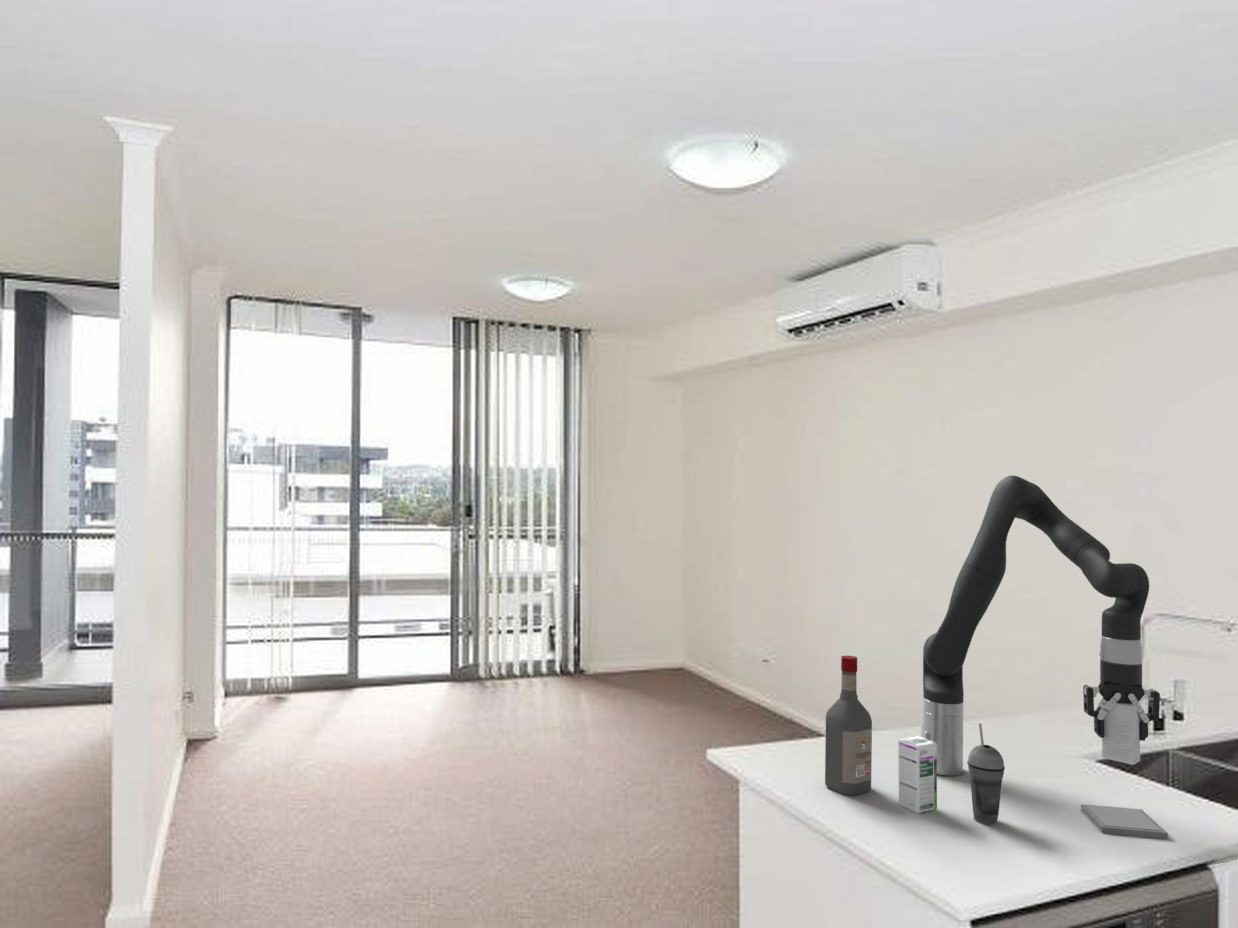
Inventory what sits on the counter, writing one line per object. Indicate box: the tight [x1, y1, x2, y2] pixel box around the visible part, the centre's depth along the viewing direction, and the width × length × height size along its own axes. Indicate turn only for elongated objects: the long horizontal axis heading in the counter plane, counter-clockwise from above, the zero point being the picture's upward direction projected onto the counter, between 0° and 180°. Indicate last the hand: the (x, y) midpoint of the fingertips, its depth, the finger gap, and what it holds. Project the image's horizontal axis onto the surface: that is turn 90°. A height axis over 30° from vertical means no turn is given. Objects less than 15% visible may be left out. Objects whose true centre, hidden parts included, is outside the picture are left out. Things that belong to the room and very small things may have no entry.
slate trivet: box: [1080, 803, 1169, 840], centre depth 171 cm, size 12×12×1 cm
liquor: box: [824, 655, 873, 797], centre depth 188 cm, size 9×9×30 cm
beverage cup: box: [966, 723, 1006, 826], centre depth 171 cm, size 7×7×20 cm
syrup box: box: [897, 735, 938, 814], centre depth 178 cm, size 6×6×14 cm
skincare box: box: [1101, 700, 1141, 766], centre depth 171 cm, size 6×4×12 cm
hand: (1120, 737), depth 171 cm, fingers closed on skincare box, 7 cm apart
